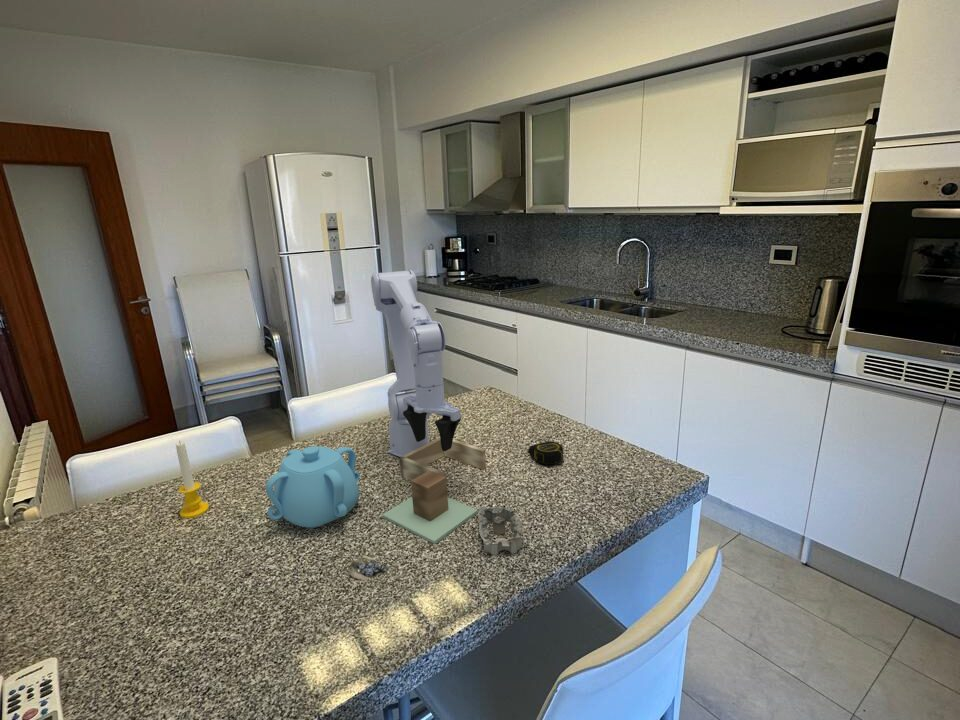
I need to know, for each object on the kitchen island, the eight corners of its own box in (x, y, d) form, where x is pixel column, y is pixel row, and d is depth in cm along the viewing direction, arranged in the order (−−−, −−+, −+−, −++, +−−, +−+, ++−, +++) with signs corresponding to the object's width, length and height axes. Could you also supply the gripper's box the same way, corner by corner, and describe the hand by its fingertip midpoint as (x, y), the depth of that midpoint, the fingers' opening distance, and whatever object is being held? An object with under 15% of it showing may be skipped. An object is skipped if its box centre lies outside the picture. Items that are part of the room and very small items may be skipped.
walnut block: (413, 513, 98) (410, 480, 96) (432, 502, 101) (429, 470, 99) (430, 521, 95) (427, 488, 93) (448, 509, 99) (446, 477, 97)
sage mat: (382, 517, 98) (382, 514, 98) (426, 490, 107) (426, 488, 107) (434, 544, 89) (434, 541, 89) (477, 512, 98) (477, 509, 98)
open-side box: (401, 476, 113) (399, 458, 112) (444, 452, 123) (442, 435, 122) (443, 494, 105) (442, 474, 104) (485, 467, 115) (485, 449, 114)
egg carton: (524, 555, 86) (523, 535, 85) (480, 557, 86) (480, 537, 85) (517, 519, 96) (516, 500, 95) (478, 521, 96) (477, 503, 95)
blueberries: (355, 557, 88) (354, 548, 87) (401, 556, 87) (400, 547, 87) (344, 585, 81) (342, 575, 80) (394, 584, 81) (393, 574, 80)
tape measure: (553, 451, 122) (553, 437, 121) (568, 463, 116) (569, 448, 115) (528, 458, 120) (527, 443, 119) (542, 470, 113) (542, 455, 112)
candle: (213, 510, 103) (198, 439, 99) (185, 521, 99) (168, 448, 95) (203, 501, 106) (189, 432, 102) (176, 511, 103) (160, 441, 98)
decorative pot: (259, 535, 94) (247, 469, 90) (296, 489, 109) (287, 431, 106) (345, 537, 92) (336, 470, 89) (370, 490, 108) (364, 431, 104)
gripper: (390, 382, 104) (395, 442, 108) (441, 395, 95) (445, 461, 99) (415, 373, 109) (419, 431, 113) (466, 385, 100) (469, 447, 104)
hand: (433, 444), depth 106 cm, fingers open, 7 cm apart
